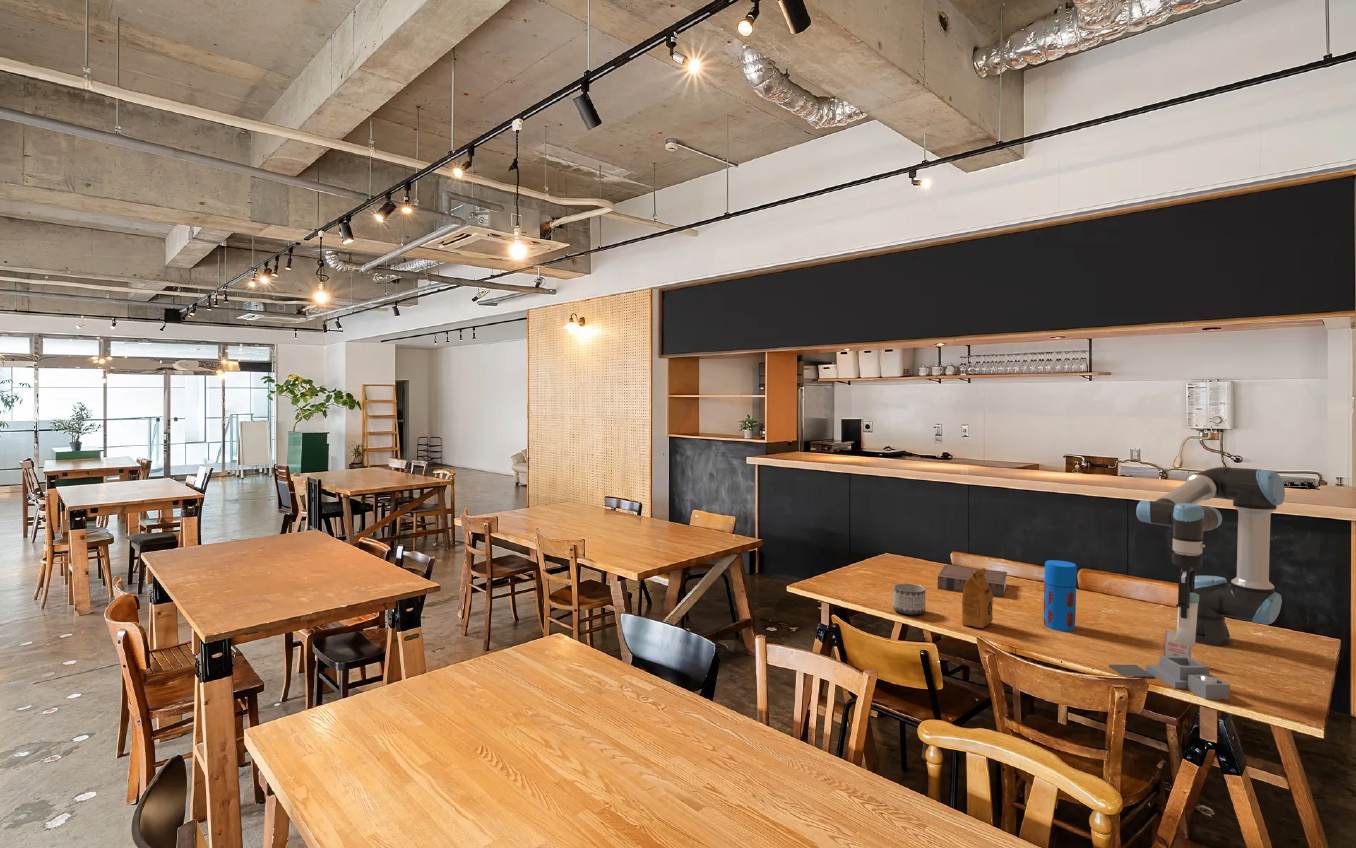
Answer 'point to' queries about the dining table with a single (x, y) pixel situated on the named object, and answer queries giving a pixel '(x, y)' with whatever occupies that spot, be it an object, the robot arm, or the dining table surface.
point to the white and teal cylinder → (1189, 635)
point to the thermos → (1060, 595)
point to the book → (957, 577)
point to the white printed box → (1175, 646)
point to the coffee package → (977, 601)
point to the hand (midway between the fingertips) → (1185, 625)
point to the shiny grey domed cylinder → (1208, 678)
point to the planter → (909, 598)
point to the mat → (1131, 671)
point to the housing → (1188, 676)
